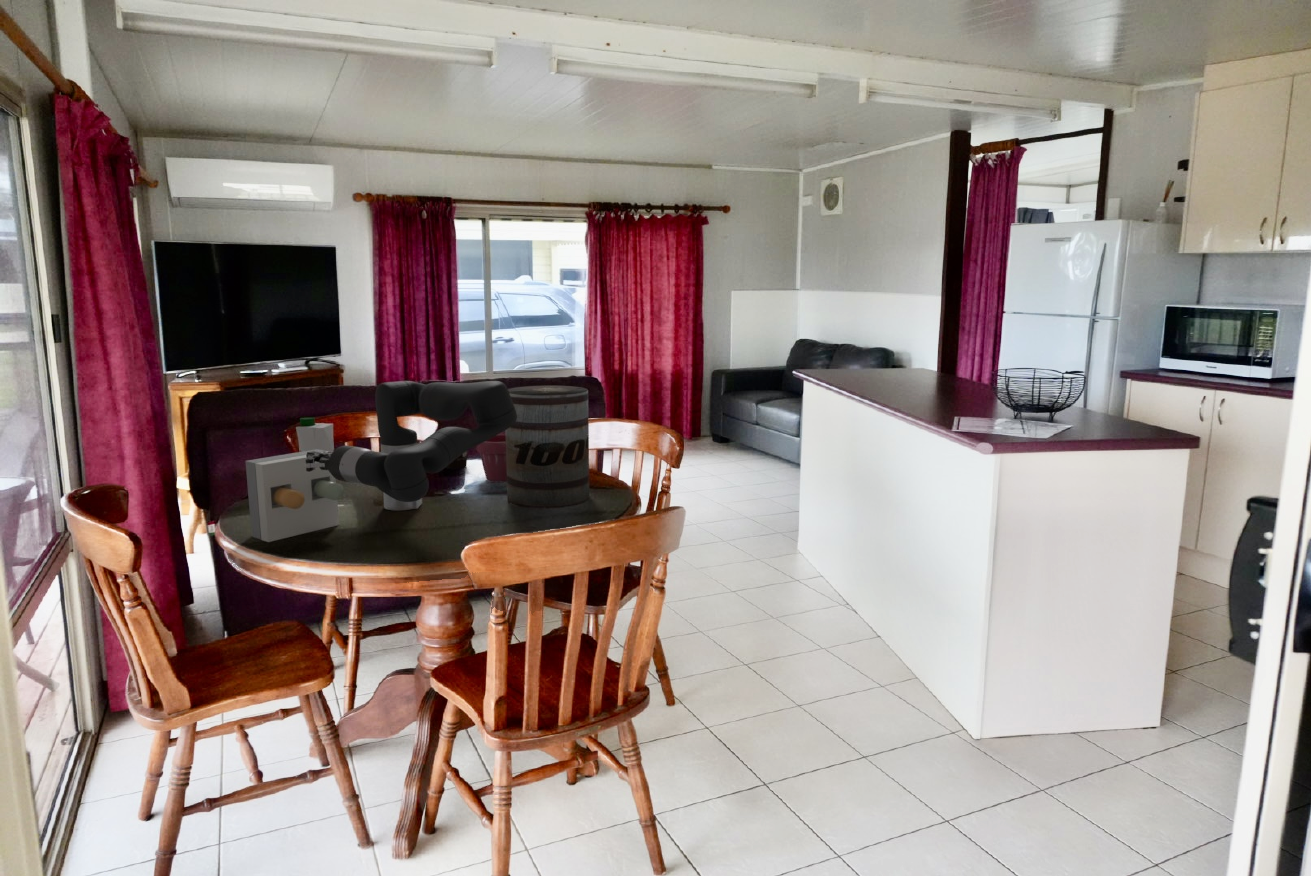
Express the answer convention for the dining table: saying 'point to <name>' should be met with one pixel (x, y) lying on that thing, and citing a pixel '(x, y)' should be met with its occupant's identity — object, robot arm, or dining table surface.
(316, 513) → the control box
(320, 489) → the button sage
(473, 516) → the dining table surface
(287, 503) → the button orange
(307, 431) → the milk carton
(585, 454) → the barrel
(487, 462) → the plant pot
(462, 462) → the coffee mug
